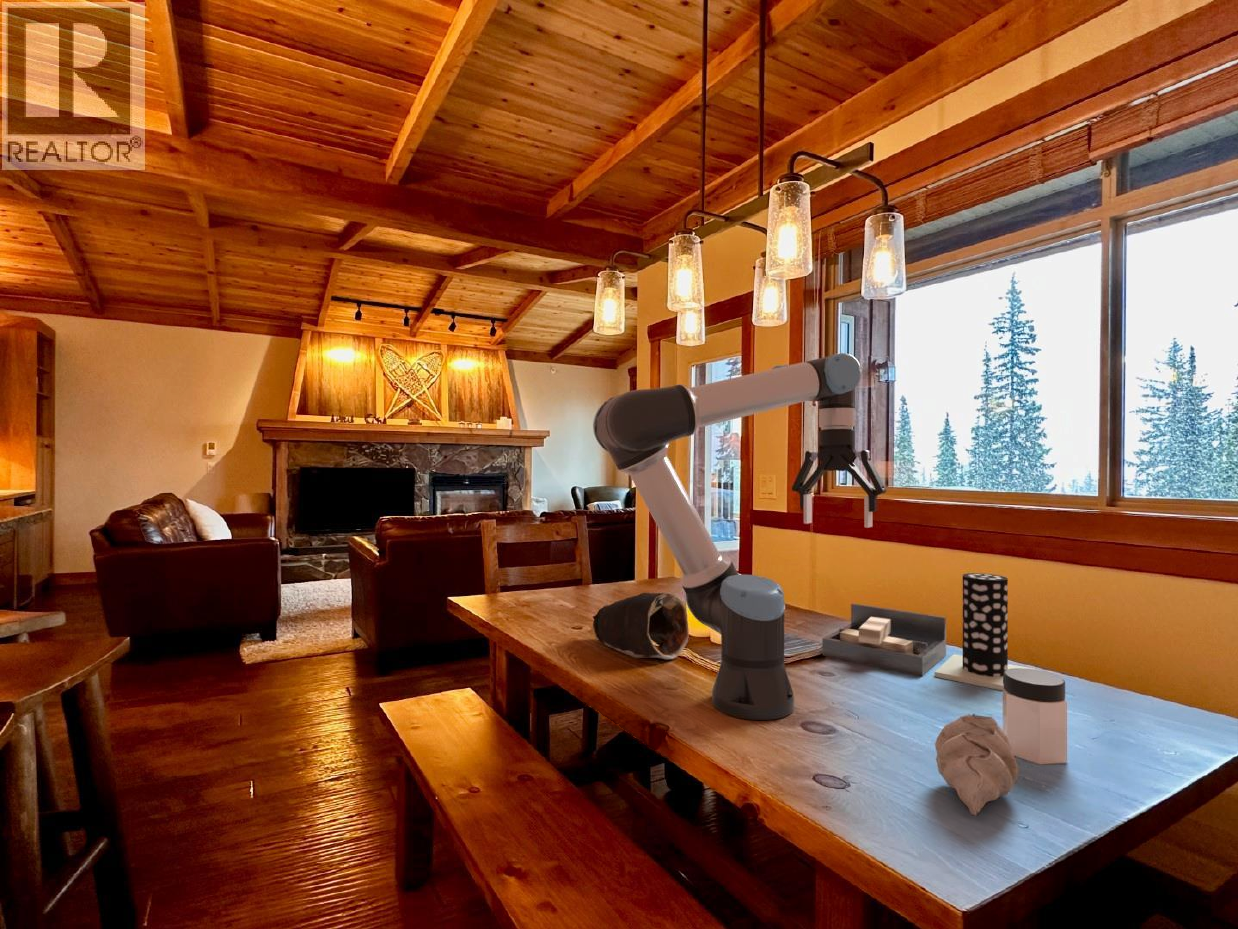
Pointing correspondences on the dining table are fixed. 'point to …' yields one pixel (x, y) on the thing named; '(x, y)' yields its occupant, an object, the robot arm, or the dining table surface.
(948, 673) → the mat
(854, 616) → the tray
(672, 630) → the clay pot
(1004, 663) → the spotted tube
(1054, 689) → the jar
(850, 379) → the robot arm
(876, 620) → the offcut top
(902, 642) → the offcut middle
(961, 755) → the seashell
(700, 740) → the dining table surface
